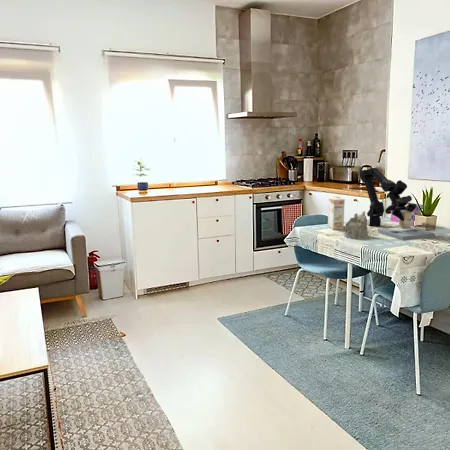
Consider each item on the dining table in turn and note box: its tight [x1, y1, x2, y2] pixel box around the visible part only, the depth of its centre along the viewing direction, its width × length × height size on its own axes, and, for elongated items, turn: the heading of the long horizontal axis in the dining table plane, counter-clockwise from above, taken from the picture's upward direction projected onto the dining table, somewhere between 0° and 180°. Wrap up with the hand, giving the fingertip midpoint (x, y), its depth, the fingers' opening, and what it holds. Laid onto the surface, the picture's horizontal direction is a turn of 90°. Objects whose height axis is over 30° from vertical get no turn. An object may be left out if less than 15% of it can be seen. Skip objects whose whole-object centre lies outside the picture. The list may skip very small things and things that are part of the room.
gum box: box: [390, 202, 424, 227], centre depth 286 cm, size 24×8×14 cm, turn 19°
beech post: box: [398, 211, 412, 229], centre depth 251 cm, size 4×4×10 cm
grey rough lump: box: [343, 210, 369, 240], centre depth 251 cm, size 16×16×15 cm
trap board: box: [377, 226, 436, 241], centre depth 252 cm, size 22×22×2 cm
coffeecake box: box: [327, 196, 346, 231], centre depth 274 cm, size 15×7×20 cm, turn 179°
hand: (407, 220), depth 250 cm, fingers closed on beech post, 4 cm apart
